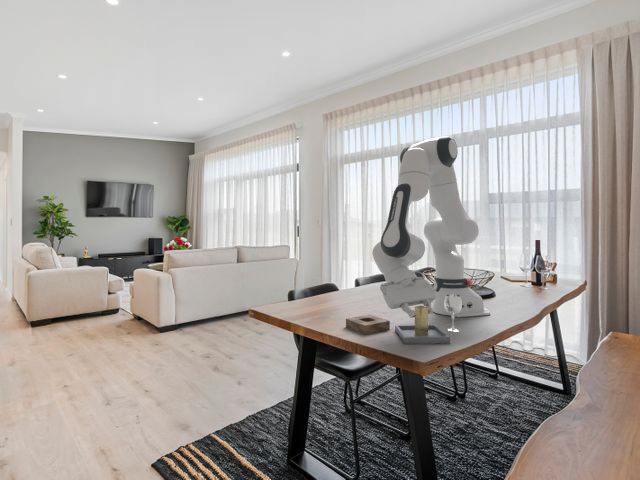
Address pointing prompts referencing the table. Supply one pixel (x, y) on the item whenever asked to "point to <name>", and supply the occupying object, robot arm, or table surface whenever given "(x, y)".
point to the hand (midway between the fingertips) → (422, 314)
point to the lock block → (367, 324)
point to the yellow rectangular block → (421, 320)
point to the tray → (410, 337)
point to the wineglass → (453, 308)
